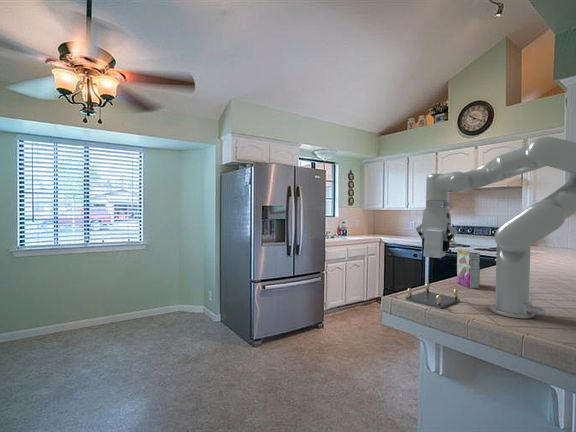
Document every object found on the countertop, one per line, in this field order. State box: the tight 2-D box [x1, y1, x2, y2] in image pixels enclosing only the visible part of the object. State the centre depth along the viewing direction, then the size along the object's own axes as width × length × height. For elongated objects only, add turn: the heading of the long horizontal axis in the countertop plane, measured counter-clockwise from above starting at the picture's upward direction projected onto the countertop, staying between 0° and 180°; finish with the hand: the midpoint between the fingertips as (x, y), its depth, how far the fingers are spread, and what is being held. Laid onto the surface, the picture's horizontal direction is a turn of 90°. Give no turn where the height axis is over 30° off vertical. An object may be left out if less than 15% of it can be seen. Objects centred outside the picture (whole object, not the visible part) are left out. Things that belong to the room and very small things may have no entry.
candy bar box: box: [456, 248, 481, 290], centre depth 146 cm, size 11×5×16 cm, turn 179°
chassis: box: [405, 282, 461, 310], centre depth 123 cm, size 14×15×4 cm
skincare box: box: [423, 230, 447, 259], centre depth 123 cm, size 10×6×10 cm, turn 144°
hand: (435, 249), depth 123 cm, fingers closed on skincare box, 7 cm apart
